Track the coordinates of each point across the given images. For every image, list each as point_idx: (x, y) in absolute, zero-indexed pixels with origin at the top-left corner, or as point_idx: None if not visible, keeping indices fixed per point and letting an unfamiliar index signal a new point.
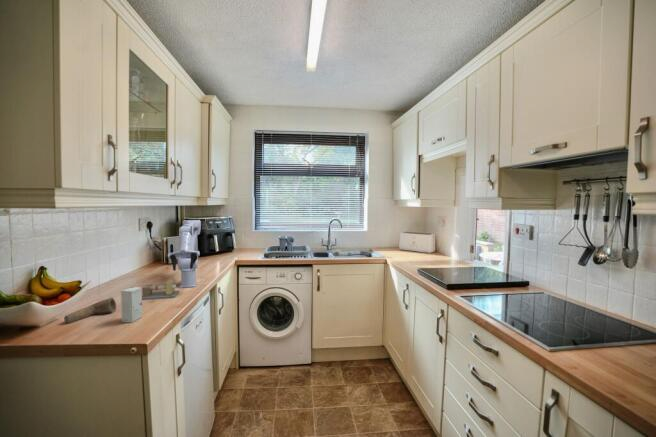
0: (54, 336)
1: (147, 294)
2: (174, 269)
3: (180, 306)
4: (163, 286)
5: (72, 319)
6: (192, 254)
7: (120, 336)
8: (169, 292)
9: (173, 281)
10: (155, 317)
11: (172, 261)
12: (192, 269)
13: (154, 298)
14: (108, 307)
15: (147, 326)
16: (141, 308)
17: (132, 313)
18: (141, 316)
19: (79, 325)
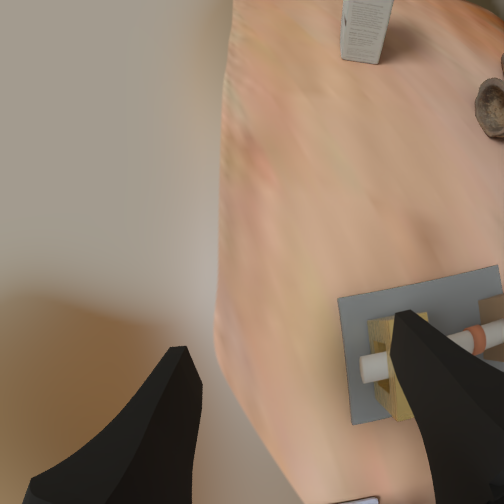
0: (453, 11)
1: (487, 298)
2: (396, 328)
3: (241, 147)
4: None
5: (502, 59)
6: (69, 496)
7: None
8: (381, 318)
9: (393, 388)
10: (289, 53)
11: (482, 368)
12: None
13: (439, 279)
14: (482, 84)
15: (276, 12)
16: (343, 34)
17: (342, 10)
18: (341, 54)
19: (467, 45)
